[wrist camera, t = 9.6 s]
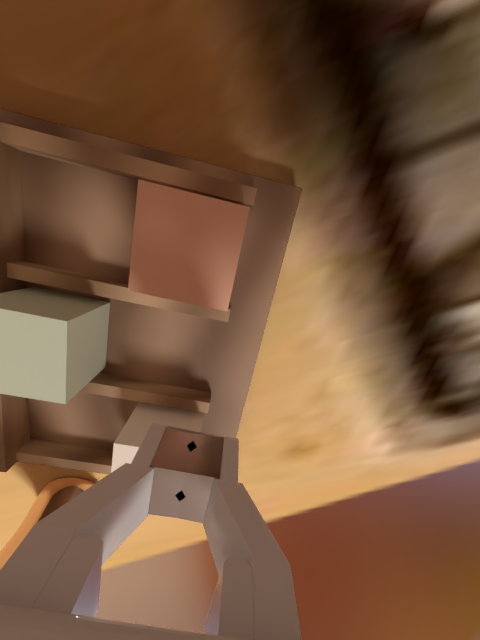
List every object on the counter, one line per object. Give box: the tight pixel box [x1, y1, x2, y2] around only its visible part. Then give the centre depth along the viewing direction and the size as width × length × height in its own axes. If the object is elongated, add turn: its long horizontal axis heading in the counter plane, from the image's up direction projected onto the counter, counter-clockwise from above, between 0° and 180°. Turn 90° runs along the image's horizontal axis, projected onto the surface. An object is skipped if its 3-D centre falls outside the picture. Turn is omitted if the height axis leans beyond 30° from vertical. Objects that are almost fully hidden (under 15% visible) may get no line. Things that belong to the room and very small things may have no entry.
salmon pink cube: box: [128, 179, 250, 311], centre depth 12 cm, size 4×4×4 cm
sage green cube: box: [0, 287, 110, 404], centre depth 13 cm, size 4×4×4 cm
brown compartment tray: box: [0, 109, 302, 474], centre depth 15 cm, size 18×22×3 cm
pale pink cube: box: [111, 402, 204, 473], centre depth 16 cm, size 4×4×4 cm
